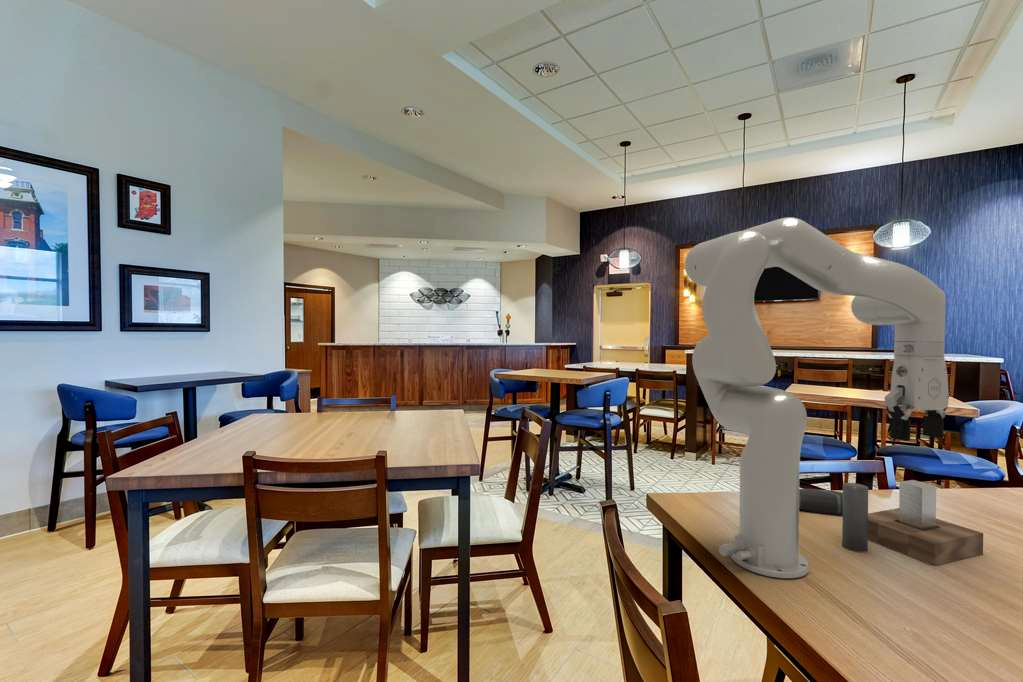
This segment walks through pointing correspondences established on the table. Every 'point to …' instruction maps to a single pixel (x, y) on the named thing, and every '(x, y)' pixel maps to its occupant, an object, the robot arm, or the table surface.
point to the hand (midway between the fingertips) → (916, 438)
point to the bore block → (924, 538)
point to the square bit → (917, 505)
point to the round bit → (855, 517)
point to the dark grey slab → (821, 501)
